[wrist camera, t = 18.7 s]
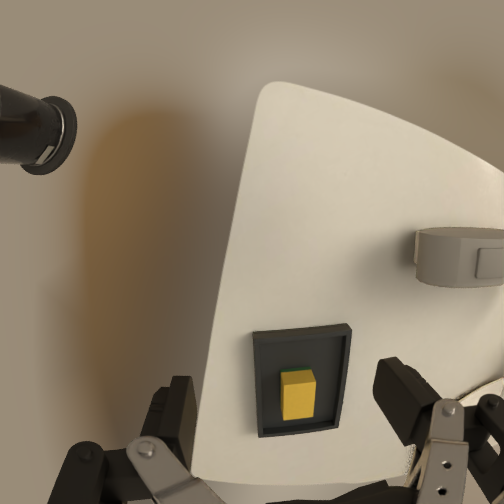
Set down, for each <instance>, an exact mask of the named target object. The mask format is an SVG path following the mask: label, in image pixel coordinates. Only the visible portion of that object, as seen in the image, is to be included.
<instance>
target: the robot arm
mask: <svg viewBox="0 0 504 504" xmlns="http://www.w3.org/2000/svg"><path fill="white" fill-rule="evenodd" d="M65 133H66V120H65V116H64V113H63V111H62V110H61V109H60V108H59V107H58V106H56V105H54V104H51V103H47V102H45V101H42V100H40V99H37V98H35V97H32V96H30V95H27V94H24V93H22V92H19V91H16V90H14V89H11V88H8V87H5V86H3V85H0V163H3V164H20V165H30V166H42V165H44V164H46V163H48V162H49V161H51V160H52V159H53V158H54V157H55V155H56V154H57V153H58V151H59V150H60V148H61V146H62V143H63V141H64V137H65ZM373 396H374V399H375V401H376V402H377V404H378V405H379V407H380V409H381V410H382V412H383V413H384V415H385V416H386V418H387V420H388V421H389V423H390V424H391V426H392V428H393V429H394V431H395V432H396V434H397V435H398V437H399V439H400V440H401V442H402V443H403V445H404V447H405V446H408V445H411V444H415V445H416V448H415V450H414V453H413V457H412V460H411V464H410V467H409V471H408V474H407V477H406V481H405V483H404V486H388V484H387V482H386V480H383V481H379V482H376V483H372V484H369V485H366V486H362V487H358V488H357V489H354V490H352V491H350V492H348V493H346V494H344V495H342V496H339V497H337V498H335V499H332V500H291V501H282V502H272V503H266V504H462V502H463V496H464V489H465V482H466V473H467V468H468V469H469V471H470V472H471V474H472V475H473V477H474V479H475V480H476V482H477V484H478V485H479V487H480V488H481V490H482V492H483V493H484V495H485V496H486V498H487V500H488V501H489V503H490V504H504V400H503V399H502V398H501V397H500V396H498V395H495V394H485V395H483V396H481V397H480V399H479V401H478V403H477V405H473V406H465V407H463V406H462V404H461V403H460V402H458V401H456V400H453V399H442V398H441V397H440V396H439V394H438V393H437V392H436V391H435V390H434V389H433V388H432V387H431V386H430V385H429V384H428V382H427V383H426V380H425V379H424V378H423V377H421V375H420V374H419V373H418V372H417V371H416V370H415V369H413V368H412V367H410V366H408V365H404V364H403V363H402V362H401V361H400V360H399V359H398V358H397V357H390V358H385V359H381V360H379V362H378V365H377V370H376V375H375V379H374V384H373ZM196 419H197V405H196V399H195V393H194V388H193V381H192V377H191V376H173V377H172V381H171V384H170V387H161V388H160V389H159V390H158V391H157V392H156V393H155V394H154V395H153V398H152V401H151V405H150V407H149V411H148V413H147V416H146V419H145V422H144V425H143V428H142V431H141V434H140V437H139V438H136V439H134V440H132V441H131V442H130V443H129V444H128V446H127V448H124V449H119V450H109V451H103V449H102V448H101V446H100V445H98V444H96V443H94V442H90V441H83V442H79V443H77V444H75V445H73V446H72V447H71V448H70V449H69V451H68V454H67V456H66V458H65V460H64V463H63V465H62V467H61V470H60V473H59V475H58V477H57V480H56V482H55V485H54V487H53V490H52V493H51V495H50V498H49V501H48V503H47V504H127V501H134V500H142V499H151V500H152V502H153V503H154V504H226V503H225V502H224V501H223V500H222V499H221V498H220V497H219V496H218V495H217V494H216V493H215V492H214V491H213V490H212V489H211V488H210V487H209V486H208V485H207V484H206V483H205V482H204V481H203V480H202V479H200V478H198V477H197V478H194V477H193V476H192V475H191V474H190V469H191V460H192V452H193V443H194V435H195V427H196ZM490 435H492V437H493V438H494V439H495V440H496V441H497V443H498V444H499V446H500V454H499V456H498V454H497V453H496V452H495V450H494V449H493V448H492V446H491V445H490V444H489V443H488V441H487V440H488V438H489V437H490Z"/></svg>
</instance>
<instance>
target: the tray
mask: <svg viewBox="0 0 504 504" xmlns="http://www.w3.org/2000/svg"><path fill="white" fill-rule="evenodd" d="M351 334H352V329H351V328H350V326H349V325H348V324H347V323H346V324H337V325H328V326H319V327H309V328H298V329H286V330H273V331H259V332H253V346H254V367H255V387H256V406H257V426H258V437H259V438H263V437H275V436H285V435H294V434H302V433H310V432H316V431H323V430H329V429H335V428H338V426H339V421H340V415H341V410H342V404H343V398H344V391H345V385H346V378H347V370H348V363H349V355H350V346H351V336H352V335H351ZM301 367H311V370H312V373H313V375H314V378H315V380H316V390H315V401H314V412H313V417H308V418H300V419H292V420H283V417H282V412H281V407H280V370H281V369H292V368H301Z"/></svg>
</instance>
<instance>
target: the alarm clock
mask: <svg viewBox="0 0 504 504" xmlns="http://www.w3.org/2000/svg"><path fill="white" fill-rule="evenodd" d="M414 262H415V263H417V268H416V278H417V279H418V280H419V281H420V282H422V283H425V284H428V285H433V286H439V287H450V288H480V287H491V286H498V285H503V284H504V230H501V229H490V228H472V227H444V228H429V229H423V230H420V231H416V239H415V253H414Z"/></svg>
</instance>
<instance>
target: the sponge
mask: <svg viewBox="0 0 504 504" xmlns="http://www.w3.org/2000/svg"><path fill="white" fill-rule="evenodd" d="M315 390H316V380H315V378H314V375H313V373H312V370H311V367H301V368H292V369H281V370H280V407H281V412H282V417H283V420H292V419H300V418H308V417H313V412H314V401H315Z"/></svg>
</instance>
